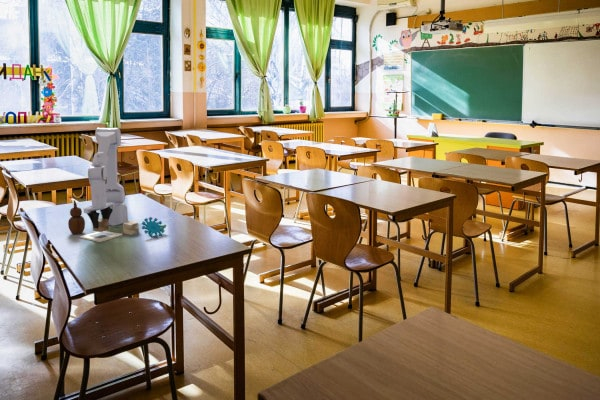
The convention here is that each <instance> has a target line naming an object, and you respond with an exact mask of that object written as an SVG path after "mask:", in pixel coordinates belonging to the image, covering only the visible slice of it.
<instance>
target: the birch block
mask: <svg viewBox="0 0 600 400" xmlns="http://www.w3.org/2000/svg"><path fill="white" fill-rule="evenodd" d="M139 226H140V225H139V222H138V221H130V220H129V222H126V223H122V229H123V234H126V235H131V236H132V235H135V234H139V233H140V230H139V229H140V227H139Z"/></svg>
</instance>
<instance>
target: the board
mask: <svg viewBox="0 0 600 400" xmlns="http://www.w3.org/2000/svg"><path fill="white" fill-rule="evenodd" d="M122 236H123V233H120V232H113V231H109V230H106V231H103V232H97V231H93V232H92V233H91V232H90V233H88V234H84V235H80V236H79V239H82V240H87V241H88V240H89V241H93V242H98V243H102V242H105V241H108V240H111V239H116V238H118V237H122Z"/></svg>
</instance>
